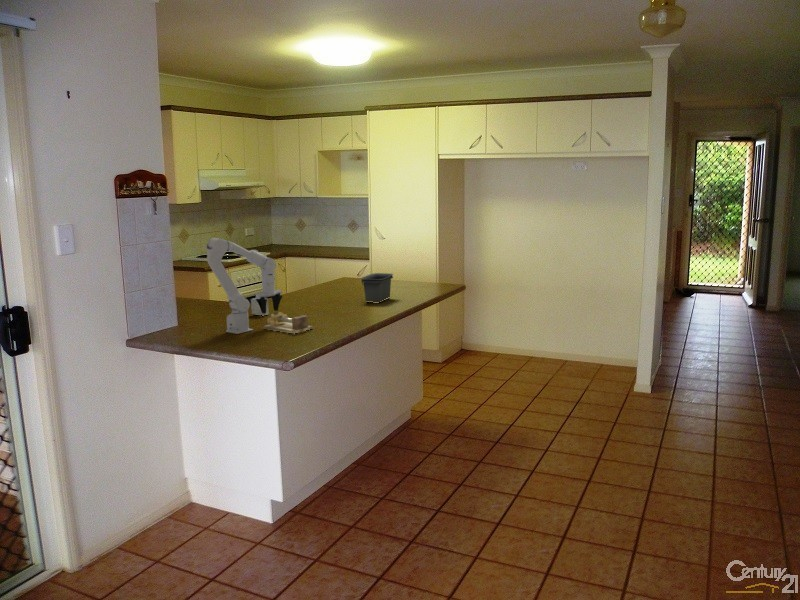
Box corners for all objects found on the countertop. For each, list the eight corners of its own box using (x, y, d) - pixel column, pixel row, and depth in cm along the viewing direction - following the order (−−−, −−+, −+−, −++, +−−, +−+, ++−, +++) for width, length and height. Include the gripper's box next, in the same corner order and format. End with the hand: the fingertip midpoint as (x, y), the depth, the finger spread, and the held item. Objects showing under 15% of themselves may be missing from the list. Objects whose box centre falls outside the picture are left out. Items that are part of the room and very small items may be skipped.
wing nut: (271, 326, 307) (270, 315, 306) (266, 325, 308) (266, 315, 308) (288, 322, 315) (288, 311, 315) (284, 321, 317) (283, 311, 316)
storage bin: (382, 304, 366) (381, 278, 364) (355, 303, 371) (355, 277, 369) (395, 298, 386) (395, 273, 383) (370, 297, 391) (370, 272, 388)
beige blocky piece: (294, 334, 298) (293, 319, 297) (263, 329, 310) (262, 315, 308) (313, 329, 307) (312, 315, 306) (282, 324, 319) (281, 310, 318)
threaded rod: (296, 324, 303) (296, 320, 303) (272, 320, 312) (272, 316, 312) (299, 323, 305) (299, 319, 305) (275, 319, 314) (275, 315, 314)
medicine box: (269, 315, 342) (268, 298, 341) (263, 317, 338) (262, 300, 337) (257, 314, 346) (256, 297, 344) (251, 315, 342) (250, 298, 341)
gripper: (262, 285, 303) (264, 315, 306) (285, 281, 315) (287, 310, 317) (251, 284, 308) (253, 313, 310) (275, 280, 319) (276, 308, 322)
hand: (269, 311), depth 314 cm, fingers open, 7 cm apart
